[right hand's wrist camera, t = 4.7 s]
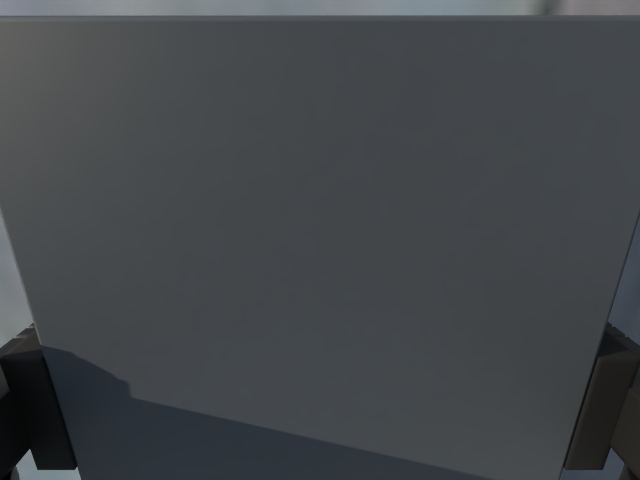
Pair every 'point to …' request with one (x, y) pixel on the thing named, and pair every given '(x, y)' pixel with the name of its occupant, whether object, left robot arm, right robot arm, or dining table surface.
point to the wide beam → (320, 236)
